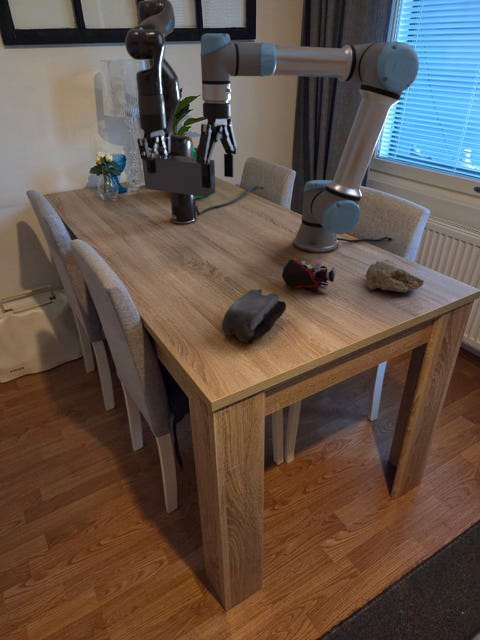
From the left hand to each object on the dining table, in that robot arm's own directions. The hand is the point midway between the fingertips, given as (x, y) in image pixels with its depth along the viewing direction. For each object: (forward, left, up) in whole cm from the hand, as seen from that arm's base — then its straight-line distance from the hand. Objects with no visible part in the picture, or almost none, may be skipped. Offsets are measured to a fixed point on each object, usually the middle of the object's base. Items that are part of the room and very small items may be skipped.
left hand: (157, 170), depth 138 cm
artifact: (-31, +67, -29) cm, 79 cm away
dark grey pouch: (+15, +52, -29) cm, 61 cm away
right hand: (-5, +21, -1) cm, 21 cm away
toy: (-12, +50, -29) cm, 59 cm away
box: (-2, +7, -5) cm, 9 cm away
